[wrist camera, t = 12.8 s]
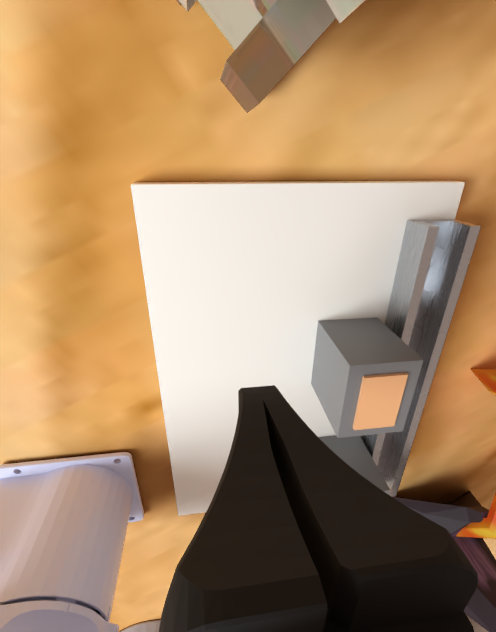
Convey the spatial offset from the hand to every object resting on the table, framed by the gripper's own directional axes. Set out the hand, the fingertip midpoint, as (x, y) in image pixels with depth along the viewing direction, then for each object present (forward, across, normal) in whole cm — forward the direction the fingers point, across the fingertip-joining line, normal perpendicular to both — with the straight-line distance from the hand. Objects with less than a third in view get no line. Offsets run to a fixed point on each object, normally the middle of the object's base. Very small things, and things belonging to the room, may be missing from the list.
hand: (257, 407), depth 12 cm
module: (+9, -7, +4) cm, 12 cm away
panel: (+10, -4, +6) cm, 12 cm away
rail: (+9, -12, +6) cm, 16 cm away
